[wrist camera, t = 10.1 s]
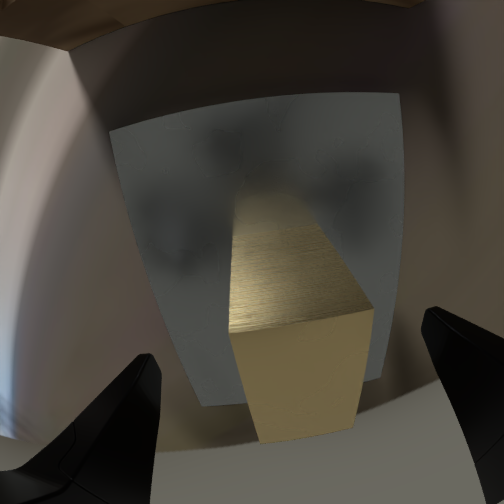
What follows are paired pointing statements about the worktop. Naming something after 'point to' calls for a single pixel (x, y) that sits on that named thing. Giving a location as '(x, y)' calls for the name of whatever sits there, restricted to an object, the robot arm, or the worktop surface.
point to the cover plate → (261, 193)
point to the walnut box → (92, 17)
